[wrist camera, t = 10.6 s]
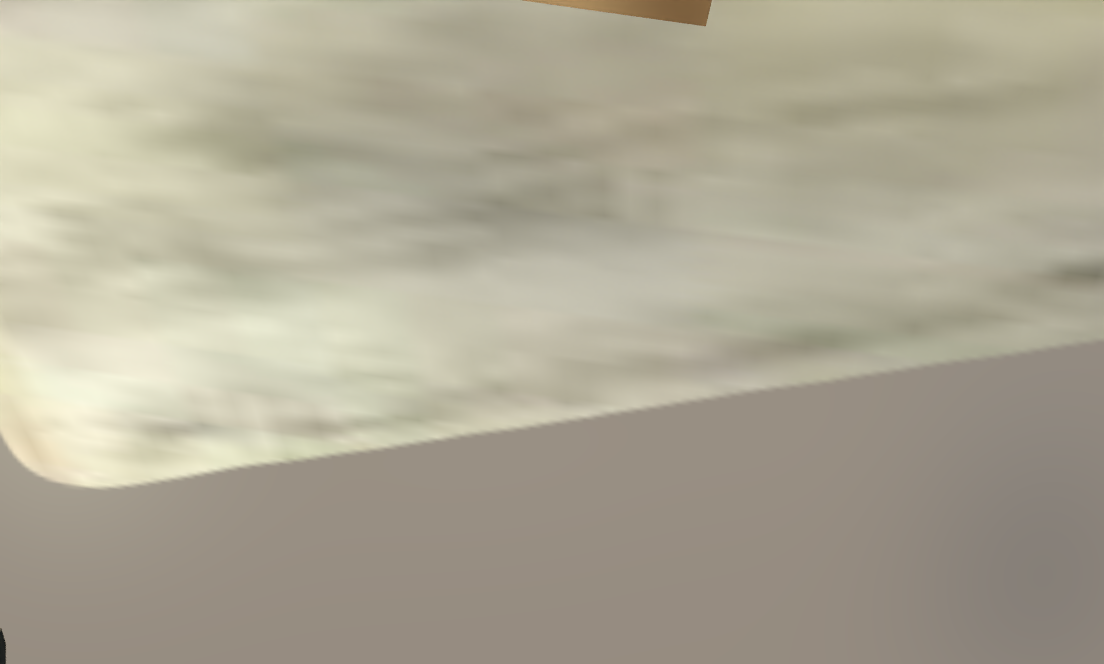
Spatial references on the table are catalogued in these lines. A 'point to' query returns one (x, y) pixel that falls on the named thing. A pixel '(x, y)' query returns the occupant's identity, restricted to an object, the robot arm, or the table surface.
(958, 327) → the table surface
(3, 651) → the robot arm
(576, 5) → the lid
